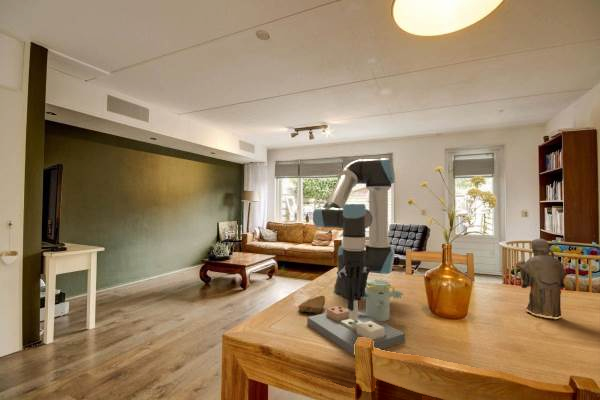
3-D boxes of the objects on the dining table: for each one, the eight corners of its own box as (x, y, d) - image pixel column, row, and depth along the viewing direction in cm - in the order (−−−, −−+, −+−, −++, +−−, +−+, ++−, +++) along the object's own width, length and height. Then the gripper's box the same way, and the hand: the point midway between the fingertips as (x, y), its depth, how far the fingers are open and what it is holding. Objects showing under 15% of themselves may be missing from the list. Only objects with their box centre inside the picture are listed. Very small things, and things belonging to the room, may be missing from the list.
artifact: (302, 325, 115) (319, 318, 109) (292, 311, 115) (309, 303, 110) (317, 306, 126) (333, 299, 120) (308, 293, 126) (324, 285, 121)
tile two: (354, 326, 101) (354, 316, 101) (366, 332, 96) (366, 322, 96) (340, 329, 98) (340, 320, 98) (352, 337, 93) (352, 326, 93)
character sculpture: (356, 323, 104) (356, 286, 104) (349, 312, 116) (349, 278, 116) (410, 323, 105) (411, 286, 105) (398, 312, 116) (399, 278, 116)
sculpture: (567, 315, 114) (567, 239, 115) (566, 323, 107) (566, 242, 107) (518, 306, 125) (518, 236, 125) (514, 312, 117) (514, 238, 118)
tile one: (370, 330, 94) (370, 319, 94) (384, 337, 89) (384, 326, 89) (356, 334, 91) (356, 323, 91) (370, 341, 86) (370, 330, 86)
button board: (350, 313, 113) (350, 307, 114) (405, 341, 91) (405, 333, 91) (307, 324, 103) (307, 317, 103) (356, 357, 81) (356, 348, 81)
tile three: (339, 313, 108) (339, 304, 108) (350, 319, 103) (350, 310, 103) (326, 316, 105) (326, 307, 105) (336, 322, 100) (337, 313, 100)
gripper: (360, 246, 104) (360, 311, 104) (331, 248, 98) (331, 319, 97) (376, 249, 98) (375, 319, 98) (346, 252, 91) (345, 327, 91)
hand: (353, 319), depth 97 cm, fingers closed
